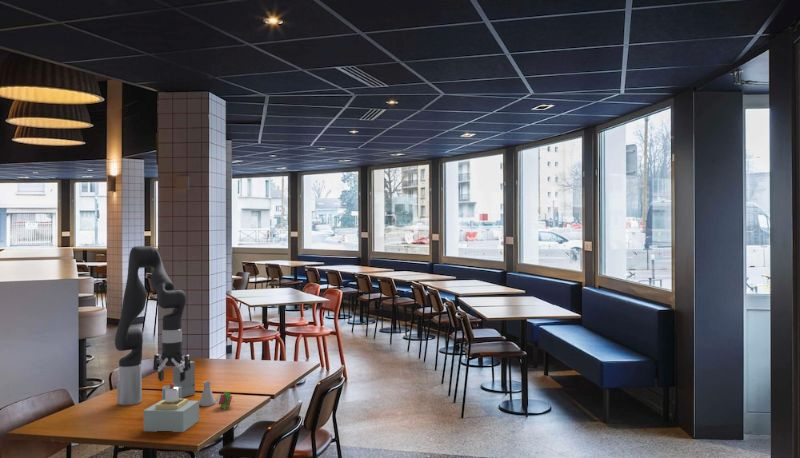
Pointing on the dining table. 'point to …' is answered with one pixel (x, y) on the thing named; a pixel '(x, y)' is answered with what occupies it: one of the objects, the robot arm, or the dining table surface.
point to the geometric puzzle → (224, 400)
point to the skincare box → (189, 381)
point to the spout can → (172, 394)
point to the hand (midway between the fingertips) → (171, 380)
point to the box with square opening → (171, 416)
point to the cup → (168, 386)
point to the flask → (207, 395)
